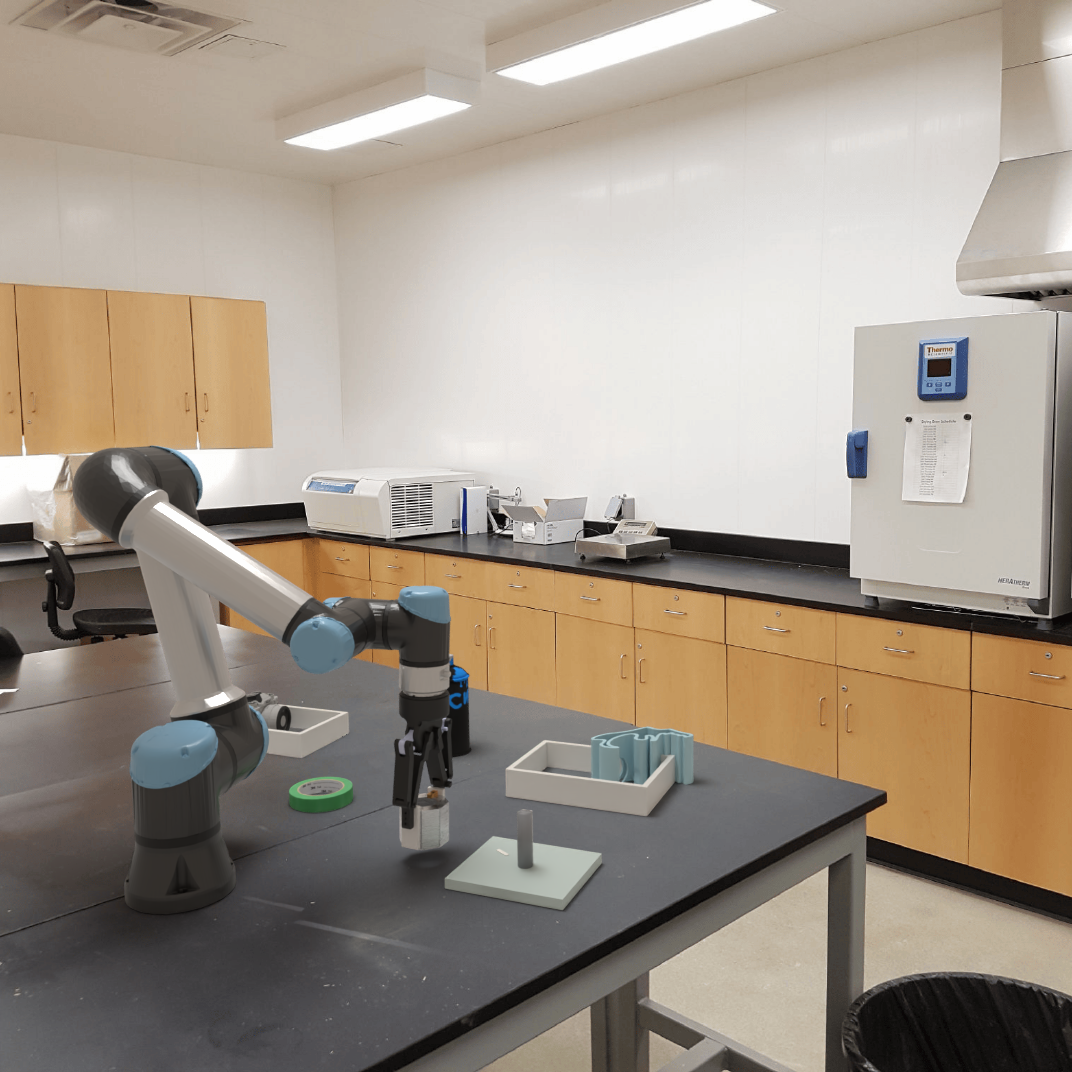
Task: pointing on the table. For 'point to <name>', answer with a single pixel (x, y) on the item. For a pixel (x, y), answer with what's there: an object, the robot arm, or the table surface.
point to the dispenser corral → (583, 781)
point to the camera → (270, 710)
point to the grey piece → (431, 820)
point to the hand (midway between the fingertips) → (423, 837)
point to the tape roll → (311, 803)
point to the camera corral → (308, 731)
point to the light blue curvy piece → (641, 754)
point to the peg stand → (525, 869)
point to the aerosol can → (459, 709)
